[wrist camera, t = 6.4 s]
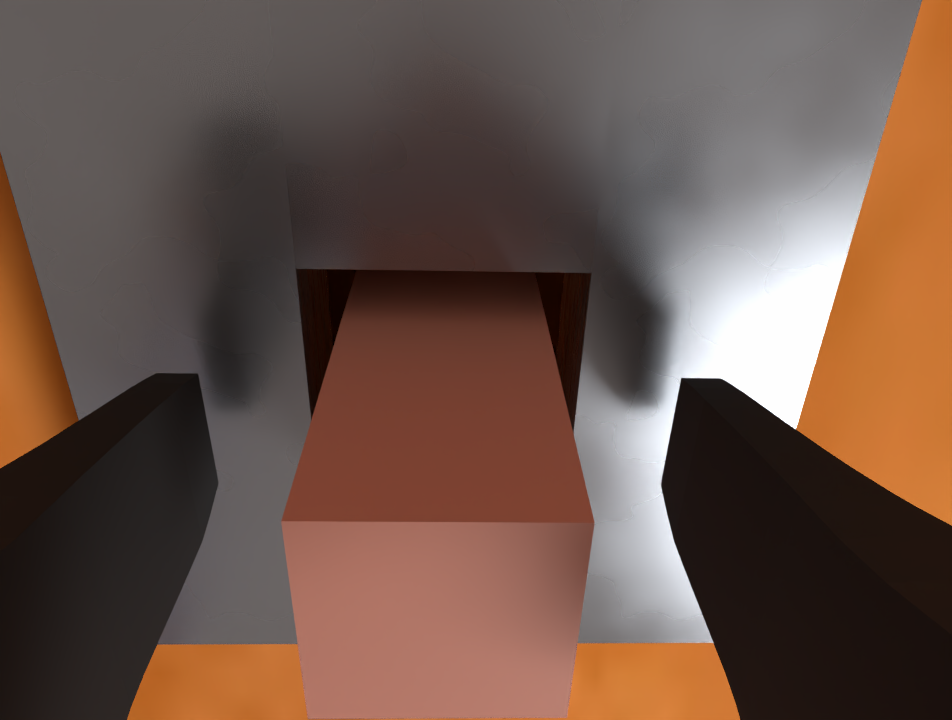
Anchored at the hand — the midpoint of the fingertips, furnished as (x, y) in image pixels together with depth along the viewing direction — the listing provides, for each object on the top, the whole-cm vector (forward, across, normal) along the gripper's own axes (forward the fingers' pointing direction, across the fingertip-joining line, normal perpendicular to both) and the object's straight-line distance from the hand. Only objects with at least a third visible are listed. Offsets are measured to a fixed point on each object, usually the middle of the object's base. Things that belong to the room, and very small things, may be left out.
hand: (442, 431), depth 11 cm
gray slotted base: (+3, 0, 0) cm, 3 cm away
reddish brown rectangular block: (+3, 0, 0) cm, 4 cm away
